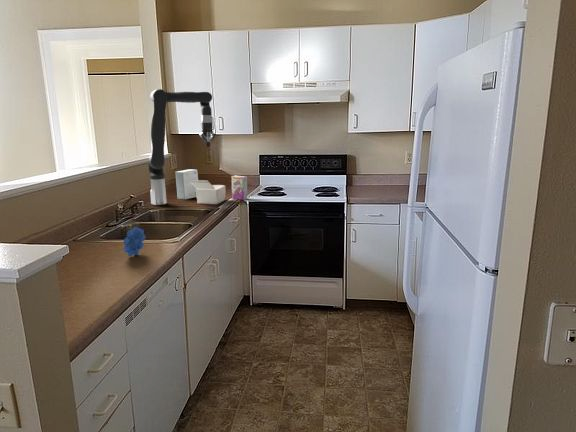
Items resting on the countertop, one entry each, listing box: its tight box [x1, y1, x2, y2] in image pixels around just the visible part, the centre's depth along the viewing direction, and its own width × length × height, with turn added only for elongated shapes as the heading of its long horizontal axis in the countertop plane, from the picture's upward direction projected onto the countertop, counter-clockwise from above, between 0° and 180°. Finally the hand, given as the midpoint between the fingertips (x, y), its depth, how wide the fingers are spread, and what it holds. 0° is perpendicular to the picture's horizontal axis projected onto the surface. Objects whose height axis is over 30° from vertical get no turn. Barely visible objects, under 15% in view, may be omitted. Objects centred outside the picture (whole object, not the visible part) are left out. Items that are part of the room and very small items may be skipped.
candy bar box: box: [230, 175, 249, 201], centre depth 300 cm, size 11×5×16 cm, turn 57°
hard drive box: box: [174, 168, 199, 200], centre depth 306 cm, size 16×8×20 cm, turn 149°
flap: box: [188, 179, 215, 189], centre depth 275 cm, size 1×13×14 cm
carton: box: [195, 184, 226, 205], centre depth 292 cm, size 17×16×10 cm
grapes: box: [123, 226, 146, 257], centre depth 177 cm, size 12×7×12 cm, turn 154°
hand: (208, 147), depth 294 cm, fingers closed
